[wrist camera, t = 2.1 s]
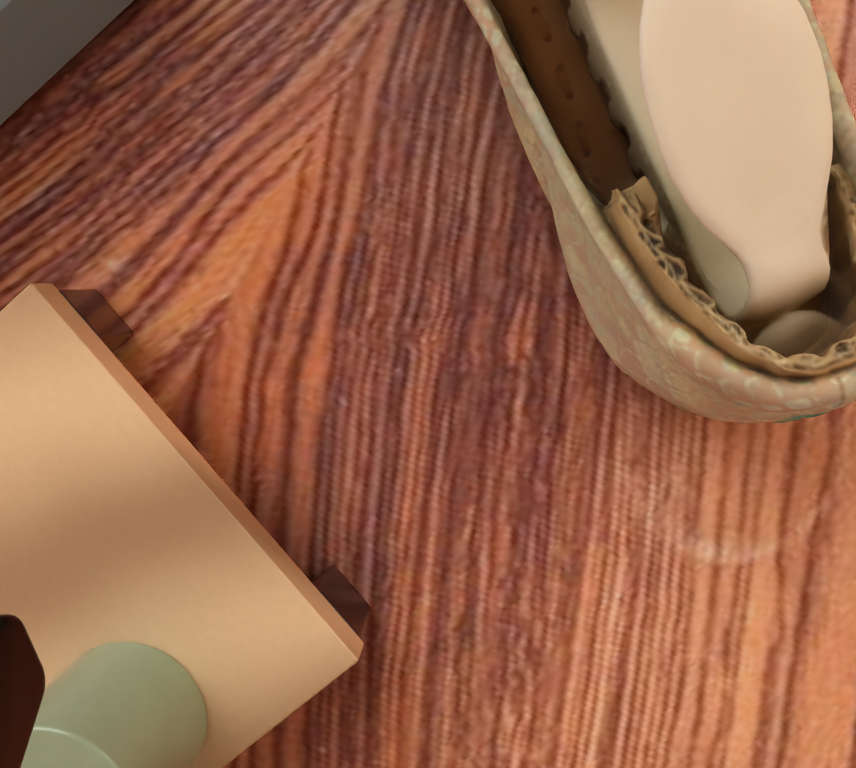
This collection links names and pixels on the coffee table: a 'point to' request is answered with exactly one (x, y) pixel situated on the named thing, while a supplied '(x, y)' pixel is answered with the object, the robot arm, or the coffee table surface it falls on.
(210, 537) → the small wooden stand
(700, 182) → the ballet flat
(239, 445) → the coffee table surface
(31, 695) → the robot arm
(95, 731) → the green cylinder
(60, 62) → the book
